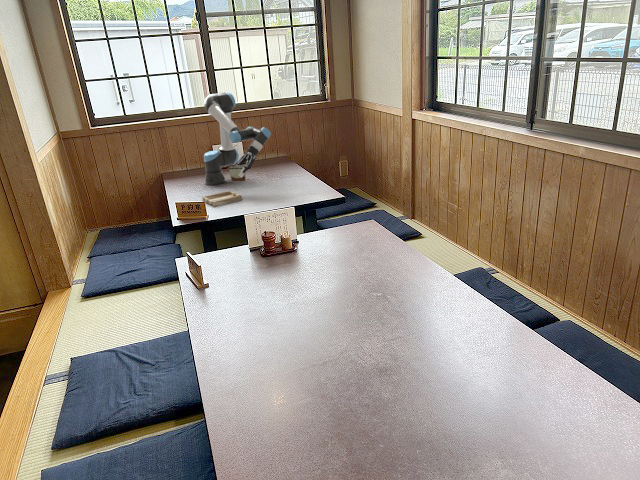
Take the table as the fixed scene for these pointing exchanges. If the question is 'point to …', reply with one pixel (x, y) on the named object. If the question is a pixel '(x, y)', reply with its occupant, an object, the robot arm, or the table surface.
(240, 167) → the food container
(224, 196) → the tray
